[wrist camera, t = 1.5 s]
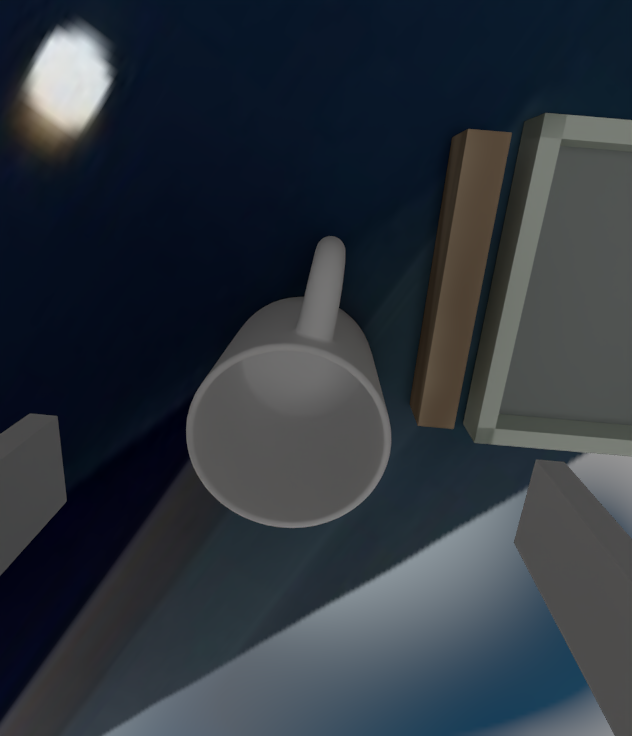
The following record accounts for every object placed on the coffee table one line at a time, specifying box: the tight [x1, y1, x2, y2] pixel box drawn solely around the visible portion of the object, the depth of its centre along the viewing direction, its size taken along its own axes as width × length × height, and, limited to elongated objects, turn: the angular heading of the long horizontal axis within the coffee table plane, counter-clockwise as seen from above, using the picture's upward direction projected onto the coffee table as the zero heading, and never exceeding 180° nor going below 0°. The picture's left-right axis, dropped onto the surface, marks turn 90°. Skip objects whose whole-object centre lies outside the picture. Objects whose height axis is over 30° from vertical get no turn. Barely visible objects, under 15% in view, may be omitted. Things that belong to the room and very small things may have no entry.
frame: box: [463, 113, 632, 456], centre depth 26 cm, size 13×17×2 cm
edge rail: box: [410, 129, 512, 429], centre depth 26 cm, size 2×15×3 cm, turn 175°
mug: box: [186, 236, 391, 528], centre depth 23 cm, size 12×8×10 cm
